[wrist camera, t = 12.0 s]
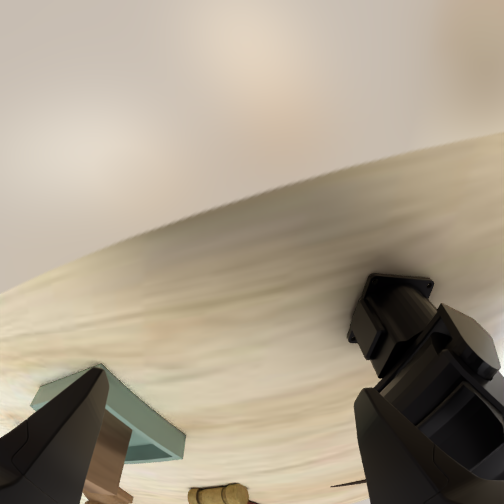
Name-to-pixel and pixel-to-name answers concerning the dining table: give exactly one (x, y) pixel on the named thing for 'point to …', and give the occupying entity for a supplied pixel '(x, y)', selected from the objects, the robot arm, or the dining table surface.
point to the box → (129, 420)
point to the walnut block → (108, 456)
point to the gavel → (220, 495)
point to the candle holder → (108, 498)
